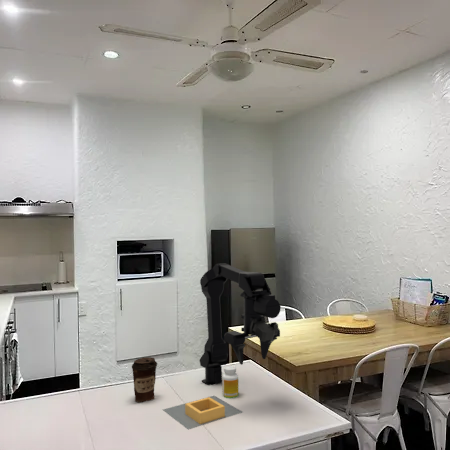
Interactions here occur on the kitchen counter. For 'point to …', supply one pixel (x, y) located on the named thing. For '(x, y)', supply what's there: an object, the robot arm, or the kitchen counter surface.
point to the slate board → (189, 423)
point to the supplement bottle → (230, 383)
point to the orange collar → (204, 416)
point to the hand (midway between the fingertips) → (252, 361)
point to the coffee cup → (144, 378)
